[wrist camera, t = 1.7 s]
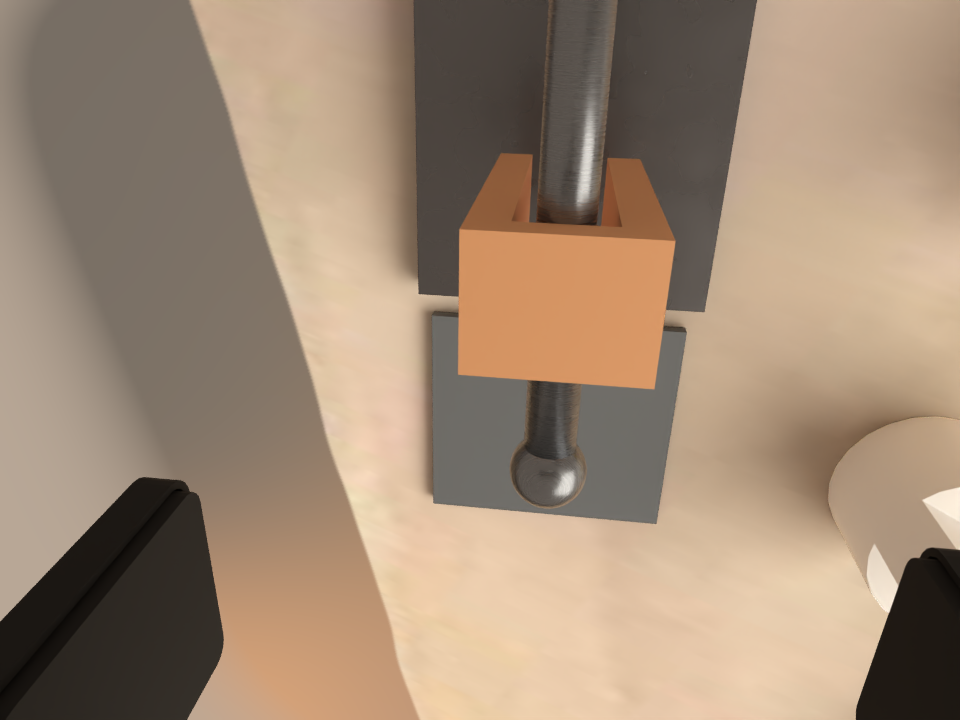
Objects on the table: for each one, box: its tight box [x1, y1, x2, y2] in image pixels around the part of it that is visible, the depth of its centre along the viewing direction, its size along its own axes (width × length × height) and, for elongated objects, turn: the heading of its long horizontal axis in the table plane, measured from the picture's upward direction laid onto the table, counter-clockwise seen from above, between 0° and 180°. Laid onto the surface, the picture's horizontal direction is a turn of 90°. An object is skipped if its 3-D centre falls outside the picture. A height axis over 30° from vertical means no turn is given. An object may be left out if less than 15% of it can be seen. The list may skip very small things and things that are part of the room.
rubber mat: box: [432, 311, 687, 524], centre depth 40 cm, size 12×13×1 cm
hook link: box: [458, 153, 676, 389], centre depth 23 cm, size 4×5×11 cm
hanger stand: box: [414, 0, 757, 509], centre depth 25 cm, size 22×14×17 cm, turn 179°
